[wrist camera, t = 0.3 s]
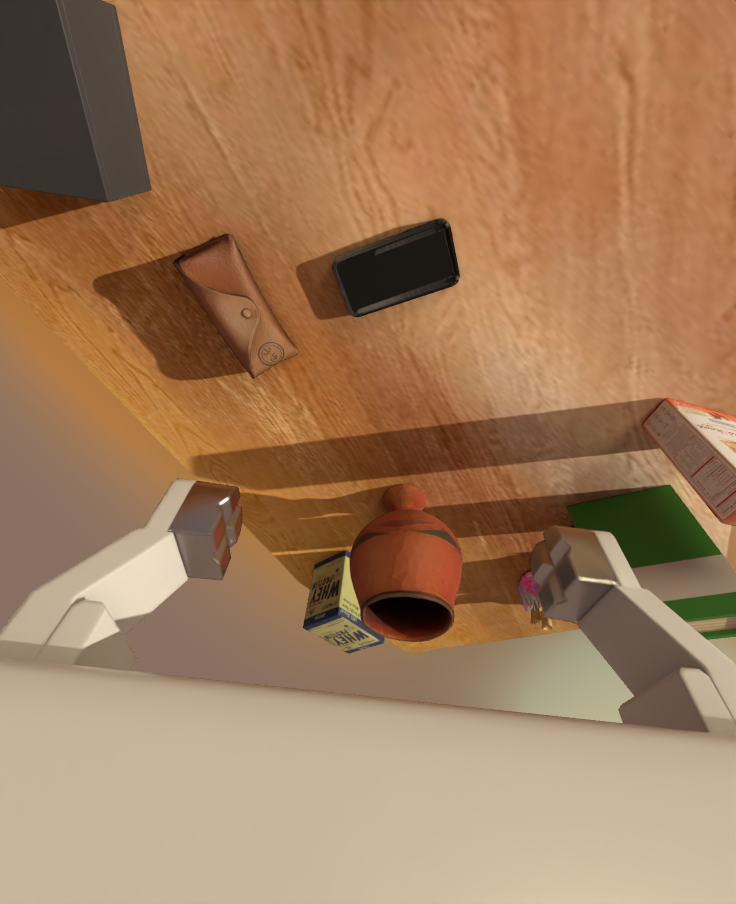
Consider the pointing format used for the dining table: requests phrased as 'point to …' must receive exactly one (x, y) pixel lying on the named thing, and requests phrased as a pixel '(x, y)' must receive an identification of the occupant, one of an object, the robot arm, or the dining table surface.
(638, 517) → the hardback book
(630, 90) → the dining table surface
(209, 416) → the dining table surface
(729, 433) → the cracker box
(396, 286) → the phone
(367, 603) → the goblet
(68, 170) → the black storage box
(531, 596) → the candy landscape model
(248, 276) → the sunglasses case
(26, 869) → the robot arm
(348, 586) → the protein box
